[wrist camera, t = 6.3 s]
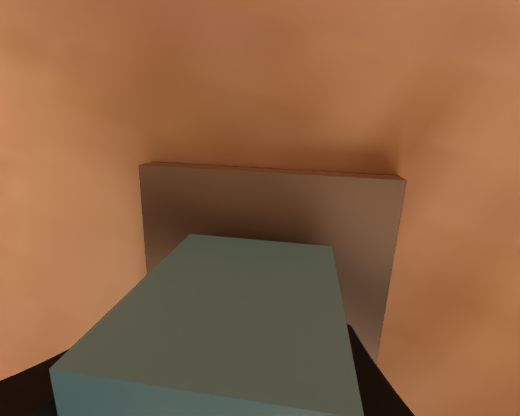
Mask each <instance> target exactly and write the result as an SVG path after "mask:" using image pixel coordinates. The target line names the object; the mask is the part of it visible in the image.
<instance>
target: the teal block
mask: <svg viewBox="0 0 520 416" xmlns="http://www.w3.org/2000/svg"><path fill="white" fill-rule="evenodd" d="M49 372H50V378H51V383H52V388H53V393H54V398H55V404H56V409H57V414H58V416H364V413H363V408H362V403H361V397H360V392H359V387H358V382H357V376H356V371H355V366H354V360H353V355H352V350H351V345H350V339H349V334H348V329H347V323H346V318H345V313H344V307H343V302H342V297H341V292H340V286H339V281H338V276H337V270H336V265H335V260H334V254H333V249H332V246H323V245H311V244H300V243H289V242H277V241H266V240H254V239H243V238H231V237H220V236H208V235H197V234H189V235H188V236H187V237H186V238H185V239H184V240H183V241H182V242H181V243H180V244H179V245H178V246H177V247H176V248H175V249H174V250H173V251H172V252H171V253H170V254H169V255H167V256H166V257H165V258H164V259H163V260H162V261H161V262H160V263H159V264H158V265H157V266H156V267H155V268H154V269H153V270H152V271H151V272H150V273H149V274H148V275H147V276H146V277H144V278H143V279H142V280H141V281H140V282H139V283H138V284H137V285H136V286H135V287H134V288H133V289H132V290H131V291H130V292H129V293H128V294H127V295H126V296H125V297H124V298H123V299H122V300H120V301H119V302H118V303H117V304H116V305H115V306H114V307H113V308H112V309H111V310H110V311H109V312H108V313H107V314H106V315H105V316H104V317H103V318H102V319H101V320H100V321H99V322H97V323H96V324H95V325H94V326H93V327H92V328H91V329H90V330H89V331H88V332H87V333H86V334H85V335H84V336H83V337H82V338H81V339H80V340H79V341H78V342H77V343H76V344H75V345H73V346H72V347H71V348H70V349H69V350H68V351H67V352H66V353H65V354H64V355H63V356H62V357H61V358H60V359H59V360H58V361H57V362H56V363H55V364H54V365H53V366H52V367H50V368H49Z"/></svg>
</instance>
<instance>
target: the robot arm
mask: <svg viewBox="0 0 520 416" xmlns="http://www.w3.org/2000/svg"><path fill="white" fill-rule="evenodd" d="M347 329H348V334H349V339H350V345H351V350H352V355H353V360H354V366H355V371H356V376H357V382H358V387H359V392H360V397H361V403H362V408H363V413H364V416H415V415H414V414H413V413H412V412H411V411H410V409H409V408H408V407H407V406H406V404H405V403H404V402H403V401H402V399H401V398H400V397H399V396H398V394H397V393H396V392H395V390H394V389H393V388H392V386H391V385H390V384H389V382H388V381H387V379H386V378H385V377H384V375H383V374H382V372H381V371H380V370H379V368H378V367H377V365H376V364H375V362H374V361H373V360H372V358H371V357H370V355H369V353H368V352H367V350H366V349H365V347H364V346H363V344H362V342H361V341H360V339H359V338H358V336H357V334H356V333H355V331H354V329H353V328H352V326H351V325H350V324H347ZM68 350H69V349H68ZM68 350H66V351H65V352H63V353H61V354H59V355H57V356H55V357H53V358H51V359H49V360H46V361H44V362H42V363H40V364H38V365H36V366H34V367H31V368H29V369H27V370H25V371H23V372H20V373H18V374H16V375H13V376H11V377H9V378H6V379H4V380H1V381H0V416H58V414H57V409H56V404H55V398H54V393H53V388H52V383H51V378H50V372H49V368H50V367H52V366H53V365H54V364H55V363H56V362H57V361H58V360H59V359H60V358H61V357H62V356H63V355H64V354H65V353H66V352H67V351H68Z"/></svg>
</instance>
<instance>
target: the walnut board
mask: <svg viewBox="0 0 520 416" xmlns="http://www.w3.org/2000/svg"><path fill="white" fill-rule="evenodd" d="M139 175H140V188H141V202H142V215H143V228H144V241H145V254H146V267H147V275H148V274H149V273H150V272H151V271H152V270H153V269H154V268H155V267H156V266H157V265H158V264H159V263H160V262H161V261H162V260H163V259H164V258H165V257H166V256H167V255H169V254H170V253H171V252H172V251H173V250H174V249H175V248H176V247H177V246H178V245H179V244H180V243H181V242H182V241H183V240H184V239H185V238H186V237H187V236H188V235H189V234H197V235H208V236H220V237H231V238H243V239H254V240H266V241H277V242H289V243H300V244H311V245H323V246H332V249H333V254H334V260H335V265H336V270H337V276H338V281H339V286H340V292H341V297H342V302H343V307H344V313H345V318H346V323H347V324H350V325H351V326H352V328H353V329H354V331H355V333H356V334H357V336H358V338H359V339H360V341H361V342H362V344H363V346H364V347H365V349H366V350H367V352H368V353H369V355H370V357H371V358H372V360H373V361H374V362H375V364H376V361H377V355H378V349H379V343H380V337H381V331H382V325H383V319H384V313H385V307H386V301H387V295H388V289H389V283H390V277H391V271H392V265H393V259H394V253H395V247H396V241H397V235H398V229H399V223H400V217H401V211H402V205H403V199H404V193H405V187H406V181H407V180H405V179H403V178H402V177H400V176H397V175H379V174H361V173H343V172H325V171H307V170H289V169H271V168H253V167H235V166H217V165H199V164H180V163H162V162H149V163H145V164H141V165H139Z"/></svg>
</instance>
